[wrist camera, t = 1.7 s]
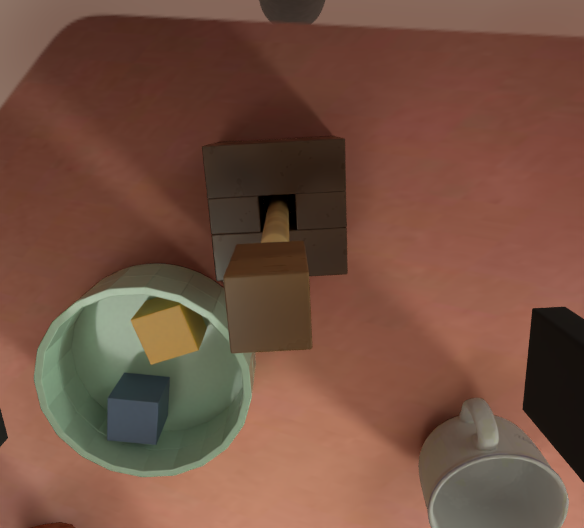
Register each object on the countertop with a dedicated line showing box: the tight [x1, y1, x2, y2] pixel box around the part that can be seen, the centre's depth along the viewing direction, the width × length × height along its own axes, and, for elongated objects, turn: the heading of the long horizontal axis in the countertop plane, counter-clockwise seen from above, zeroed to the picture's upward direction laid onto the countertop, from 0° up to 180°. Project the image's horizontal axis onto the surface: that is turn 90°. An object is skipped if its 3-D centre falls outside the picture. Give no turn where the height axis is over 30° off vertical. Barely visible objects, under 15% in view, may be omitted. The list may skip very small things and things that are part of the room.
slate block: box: [107, 372, 170, 445], centre depth 40 cm, size 4×4×4 cm
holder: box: [202, 136, 347, 281], centre depth 34 cm, size 9×9×7 cm
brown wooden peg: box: [223, 194, 312, 353], centre depth 26 cm, size 3×3×24 cm
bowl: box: [34, 264, 256, 477], centre depth 38 cm, size 16×16×6 cm
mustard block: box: [131, 297, 207, 365], centre depth 37 cm, size 4×4×4 cm
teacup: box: [418, 398, 569, 528], centre depth 40 cm, size 14×11×8 cm
